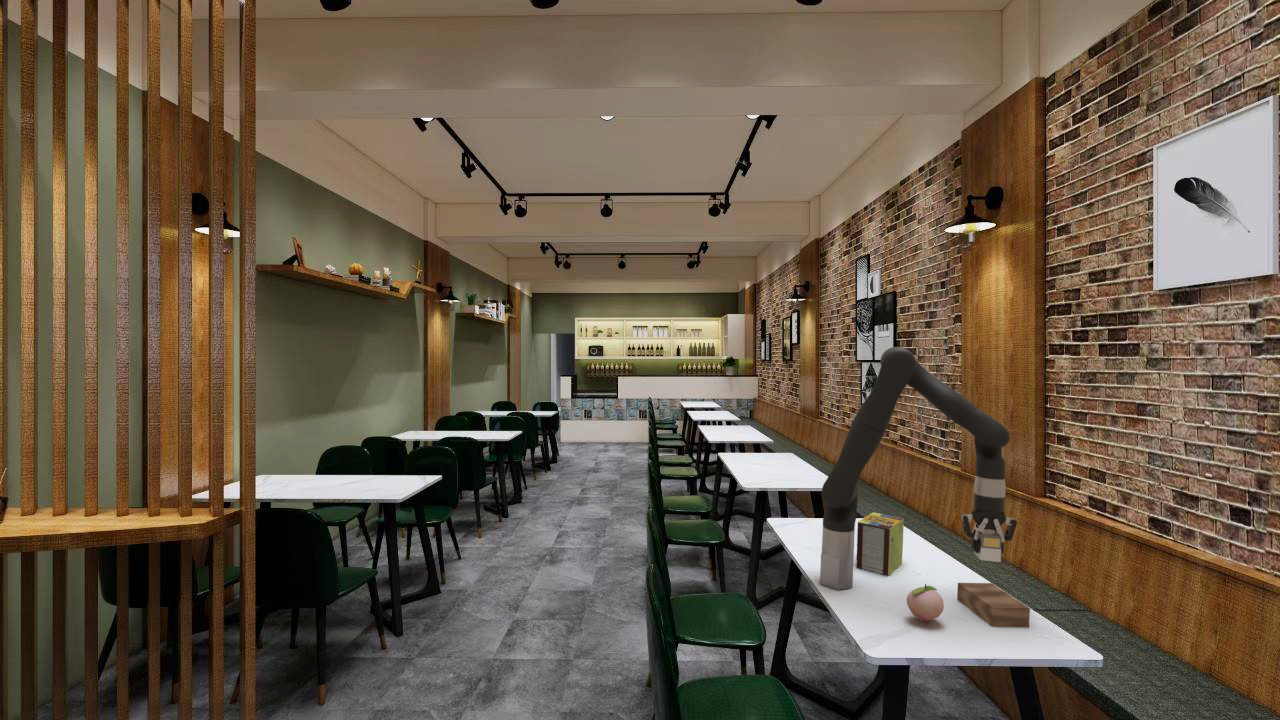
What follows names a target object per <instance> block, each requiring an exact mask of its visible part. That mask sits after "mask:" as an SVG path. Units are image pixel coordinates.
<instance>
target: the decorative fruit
mask: <svg viewBox="0 0 1280 720" xmlns="http://www.w3.org/2000/svg"><path fill="white" fill-rule="evenodd" d="M906 604H907V607H908V609H909V610H910V612H911V613H912V615H913V616H914V617H916V618H917V619H918V620H921V621H922V622H927V621H932V620H935V619H937V618H939V617H940V616H942V614H943V612H944V610H945V609H944V607H945V603H944V599H943V597H942V595H941V594H940V593H939V592H938V589H937V588H936V587H934V586H932V585H927V583H925V584H924V586H920V587H919V586H918V587H917V588H915V589H912V590H911V591H909V593H908V595H907V597H906Z"/></svg>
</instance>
